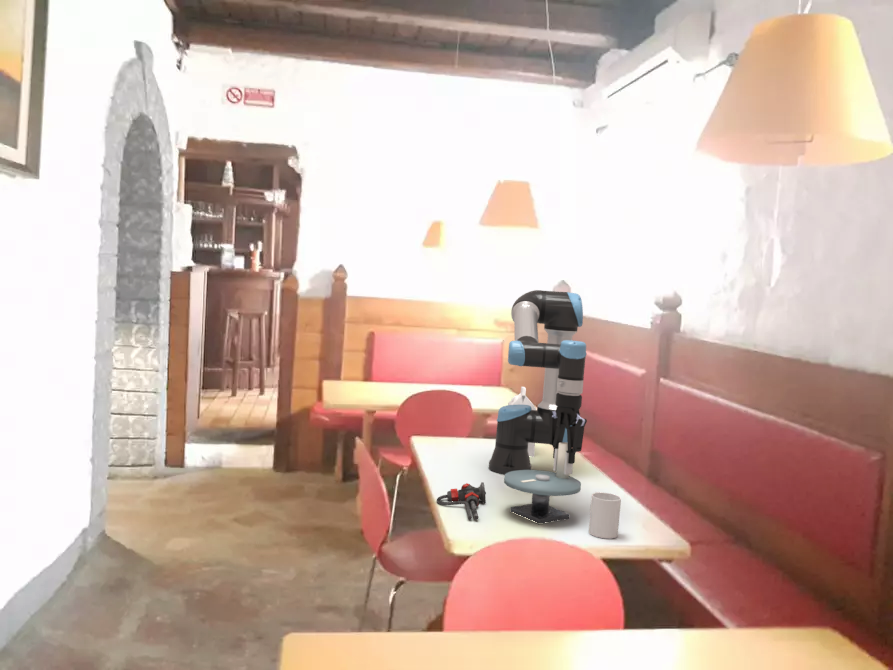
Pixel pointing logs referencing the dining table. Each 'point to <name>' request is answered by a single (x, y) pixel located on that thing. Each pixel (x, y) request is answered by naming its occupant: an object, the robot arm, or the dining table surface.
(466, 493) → the dark grey forked tool
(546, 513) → the square pedestal base
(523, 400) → the milk
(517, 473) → the handwheel
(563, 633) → the dining table surface
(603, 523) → the mug
